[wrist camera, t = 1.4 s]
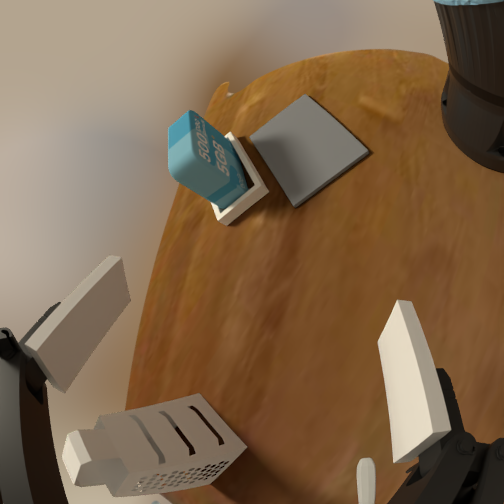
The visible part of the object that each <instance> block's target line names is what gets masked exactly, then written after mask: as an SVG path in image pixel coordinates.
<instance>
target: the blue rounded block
mask: <svg viewBox="0 0 504 504" xmlns="http://www.w3.org/2000/svg"><path fill="white" fill-rule="evenodd" d="M168 168H169V172H170V174H171V176H172V177H173V178H174V179H175V180H176V181H178V182H179V183H181V184H183V185H184V186H186V187H187V188H189V189H191V190H192V191H194V192H196V193H197V194H199V195H200V196H202V197H204V198H205V199H207V200H209V201H210V202H212V203H213V204H215V205H217V206H218V207H220V208H222V209H226V208H228V207H229V206H230V205H231V204H232V203H234V202H235V201H236V200H237V199H239V198H240V197H241V196H242V195H243V194H245V193H246V192H247V191H248V186H247V183H246V179H245V176H244V172H243V169H242V165H241V162H240V158H239V155H238V154H237V152H236V150H235V148H234V146H233V145H232V143H231V142H230V141H229V140H228V139H227V138H225V137H224V136H223V135H222V134H221V133H220V132H218V131H217V130H216V129H215V128H214V127H212V126H211V125H210V124H209V123H208V122H207V121H205V120H204V119H203V118H202V117H200V116H199V115H198V114H197V113H195V112H194V111H191V110H190V111H188V112H186V113H185V114H184V115H183V116H182V117H181V118H180V119H178V120H177V121H176V122H175V123H174V124H173V125H171V126H170V127H169V129H168Z"/></svg>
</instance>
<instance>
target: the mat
mask: <svg viewBox="0 0 504 504" xmlns="http://www.w3.org/2000/svg"><path fill="white" fill-rule="evenodd" d="M249 138H250V139H251V141H252V142H253V144H254V145H255V147H256V148H257V150H258V151H259V153H260V154H261V156H262V157H263V159H264V160H265V162H266V163H267V165H268V167H269V168H270V170H271V171H272V173H273V174H274V176H275V178H276V179H277V181H278V182H279V184H280V185H281V187H282V189H283V190H284V192H285V193H286V195H287V197H288V198H289V200H290V202H291V203H292V205H293V206H294V207H295V208H296V207H297V206H299V205H300V204H301V203H303V202H304V201H305V200H307V199H308V198H309V197H311V196H312V195H313V194H315V193H316V192H318V191H319V190H320V189H322V188H323V187H324V186H326V185H327V184H328V183H330V182H331V181H332V180H334V179H335V178H336V177H338V176H339V175H340V174H342V173H343V172H345V171H346V170H347V169H349V168H350V167H351V166H353V165H354V164H355V163H357V162H358V161H359V160H361V159H362V158H364V157H365V156H366V155H368V154H369V151H368V150H367V149H366V148H365V147H364V146H363V145H362V144H361V143H360V142H359V141H358V140H357V139H356V138H355V137H354V136H353V135H352V134H351V133H350V132H349V131H347V130H346V129H345V128H344V127H343V126H342V125H341V124H340V123H339V122H338V121H336V120H335V119H334V118H333V117H332V116H331V115H330V114H329V113H327V112H326V111H325V110H324V109H323V108H322V107H320V106H319V105H318V104H317V103H316V102H314V101H313V100H312V99H311V98H309V97H308V96H307V95H306V94H304V95H303V96H301V97H300V98H299V99H297V100H296V101H295V102H293V103H292V104H291V105H289V106H288V107H287V108H285V109H284V110H283V111H281V112H280V113H279V114H278V115H276V116H275V117H274V118H272V119H271V120H270V121H269V122H267V123H266V124H265V125H264V126H262V127H261V128H260V129H259V130H257V131H256V132H255V133H254V134H252V135H251V136H250V137H249Z"/></svg>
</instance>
